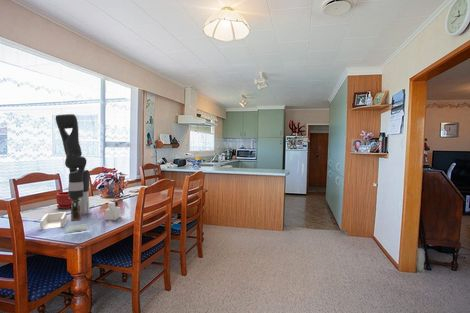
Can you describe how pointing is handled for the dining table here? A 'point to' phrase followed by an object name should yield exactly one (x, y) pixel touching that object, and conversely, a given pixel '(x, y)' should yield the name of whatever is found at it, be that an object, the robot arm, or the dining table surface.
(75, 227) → the grey-green mat
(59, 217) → the cream curved tray
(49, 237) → the dining table surface
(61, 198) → the plant pot
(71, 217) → the walnut block
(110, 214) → the medicine bottle
